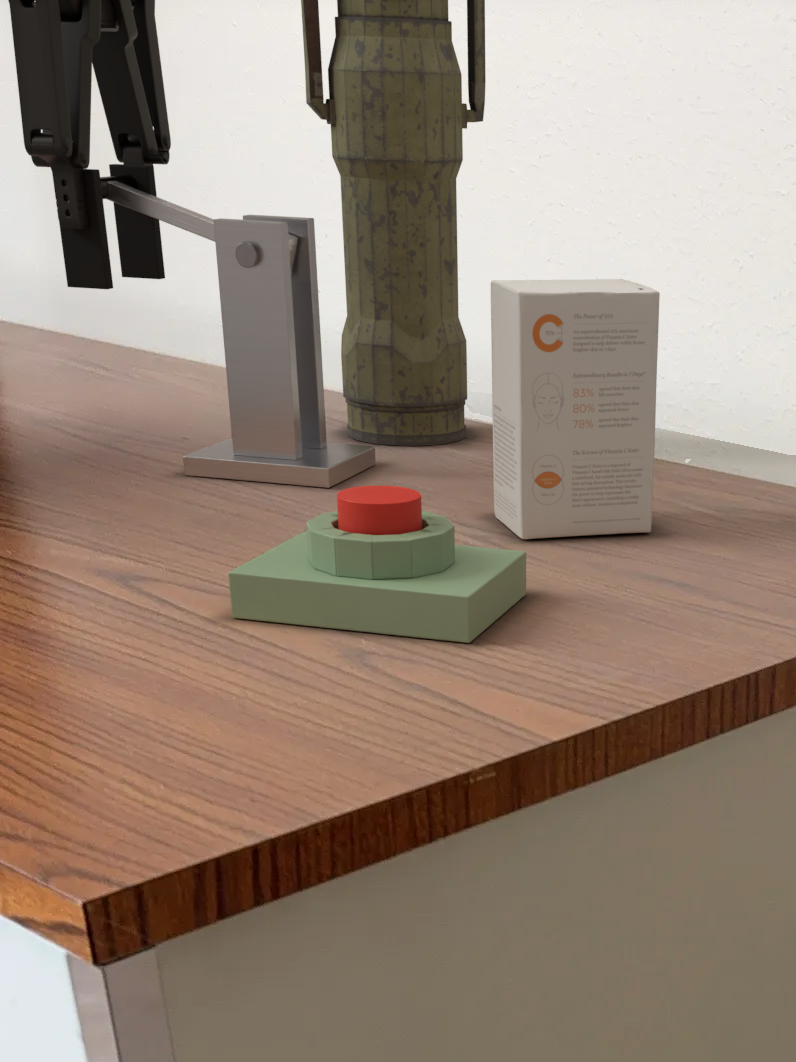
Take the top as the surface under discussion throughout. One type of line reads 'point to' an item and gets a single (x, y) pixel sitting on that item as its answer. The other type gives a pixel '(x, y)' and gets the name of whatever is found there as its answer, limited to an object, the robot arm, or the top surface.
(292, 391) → the bracket
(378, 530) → the button
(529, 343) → the small box
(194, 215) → the lever
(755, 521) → the top surface
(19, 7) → the robot arm
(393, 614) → the button box
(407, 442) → the thermos
